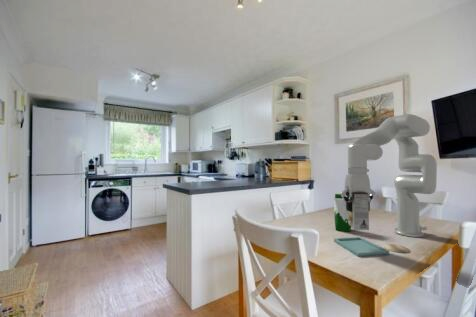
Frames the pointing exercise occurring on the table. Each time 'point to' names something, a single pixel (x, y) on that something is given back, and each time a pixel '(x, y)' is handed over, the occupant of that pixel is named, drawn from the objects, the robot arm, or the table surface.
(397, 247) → the gold metallic coaster
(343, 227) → the milk carton
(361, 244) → the tray
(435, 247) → the table surface
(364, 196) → the coffee box
